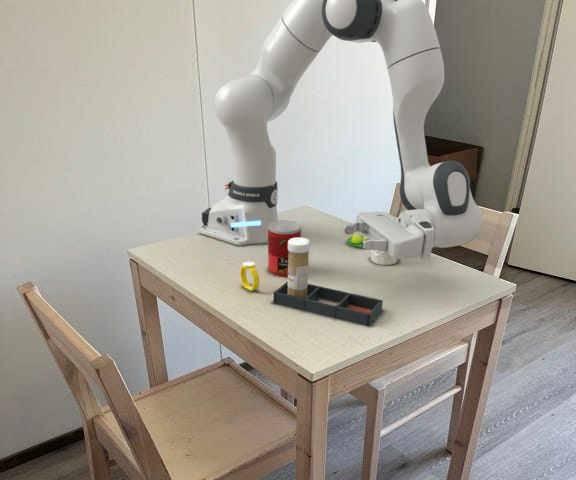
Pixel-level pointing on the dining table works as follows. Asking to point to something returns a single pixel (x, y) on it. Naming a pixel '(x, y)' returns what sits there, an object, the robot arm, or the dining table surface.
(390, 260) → the white cup
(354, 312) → the compartment tray
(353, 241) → the green plate with lemons
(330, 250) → the dining table surface
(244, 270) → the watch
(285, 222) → the canned food
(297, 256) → the sprinkles bottle
